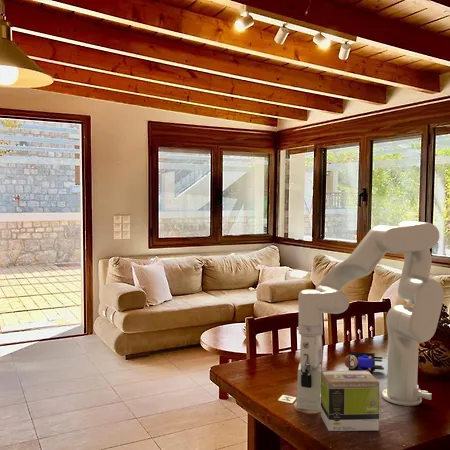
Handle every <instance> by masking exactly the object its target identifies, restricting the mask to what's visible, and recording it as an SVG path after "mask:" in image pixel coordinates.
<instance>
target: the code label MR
mask: <svg viewBox="0 0 450 450" xmlns="http://www.w3.org/2000/svg"><path fill="white" fill-rule="evenodd" d="M277 401H278V402H282V403H286V404H287V403H288V404H294V403H295V402H296V401H297V396H290V395H286V394H282V395H281V396H280V397H279V398H278V399H277Z"/></svg>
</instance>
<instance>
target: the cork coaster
mask: <svg viewBox="0 0 450 450" xmlns="http://www.w3.org/2000/svg"><path fill="white" fill-rule="evenodd" d="M293 408H294V410H296V411H298V412H299V413H301V414H307V415H313V414H315V415H316V414H319V413H321V403H320V410H319V411H316V410H308V409H300V408H297V401H294V402H293Z"/></svg>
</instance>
